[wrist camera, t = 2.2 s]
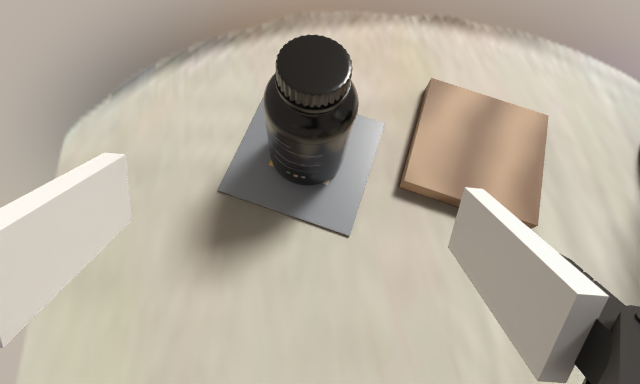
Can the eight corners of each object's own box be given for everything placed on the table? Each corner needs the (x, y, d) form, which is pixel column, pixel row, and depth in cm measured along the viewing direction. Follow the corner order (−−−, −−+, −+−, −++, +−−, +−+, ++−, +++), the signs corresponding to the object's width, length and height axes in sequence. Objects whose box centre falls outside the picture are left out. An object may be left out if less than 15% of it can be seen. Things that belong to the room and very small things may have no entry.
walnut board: (538, 124, 37) (548, 115, 36) (527, 230, 33) (537, 225, 31) (426, 87, 38) (431, 77, 36) (399, 187, 33) (404, 180, 32)
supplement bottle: (282, 114, 35) (280, 8, 24) (351, 134, 35) (381, 37, 24) (258, 176, 32) (243, 89, 21) (332, 198, 32) (356, 122, 21)
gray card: (384, 124, 36) (384, 123, 35) (349, 236, 31) (349, 235, 31) (269, 86, 36) (269, 84, 36) (218, 190, 32) (217, 189, 31)
